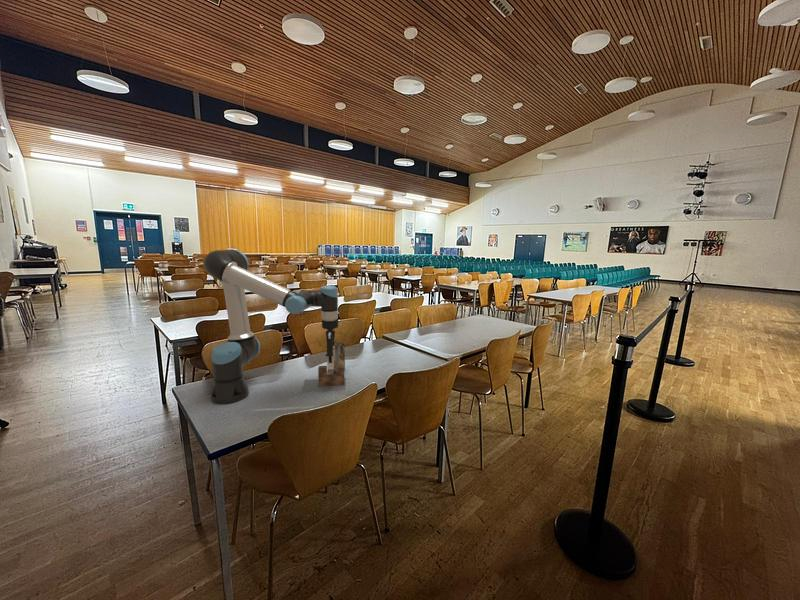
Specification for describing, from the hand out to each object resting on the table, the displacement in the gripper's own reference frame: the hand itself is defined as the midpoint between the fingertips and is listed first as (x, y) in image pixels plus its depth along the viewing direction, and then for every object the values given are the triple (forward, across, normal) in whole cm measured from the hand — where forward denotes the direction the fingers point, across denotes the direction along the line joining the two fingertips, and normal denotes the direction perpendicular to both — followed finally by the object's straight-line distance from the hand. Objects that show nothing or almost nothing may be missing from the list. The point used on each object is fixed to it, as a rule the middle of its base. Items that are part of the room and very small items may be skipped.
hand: (331, 364), depth 159 cm
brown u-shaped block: (+10, 0, 0) cm, 10 cm away
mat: (+11, 0, +4) cm, 11 cm away
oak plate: (+1, 0, 0) cm, 1 cm away
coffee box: (+11, +15, -2) cm, 19 cm away
